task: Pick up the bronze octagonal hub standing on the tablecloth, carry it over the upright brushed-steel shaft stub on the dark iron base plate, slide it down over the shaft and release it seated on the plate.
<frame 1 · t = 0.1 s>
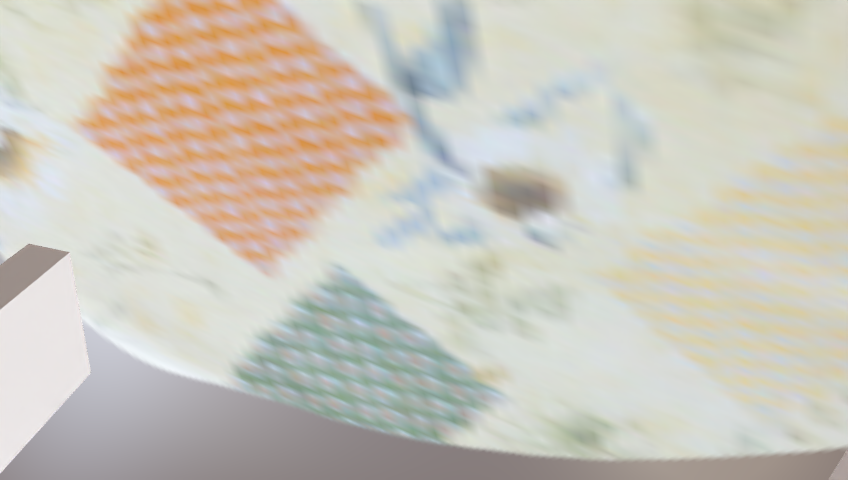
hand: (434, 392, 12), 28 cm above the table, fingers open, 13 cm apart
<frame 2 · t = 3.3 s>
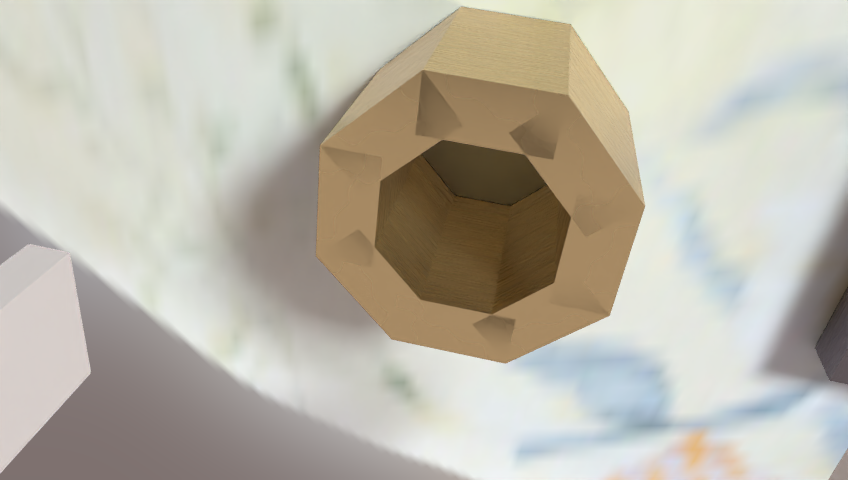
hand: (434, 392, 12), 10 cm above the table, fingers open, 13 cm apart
hub: (493, 137, 20), on the table
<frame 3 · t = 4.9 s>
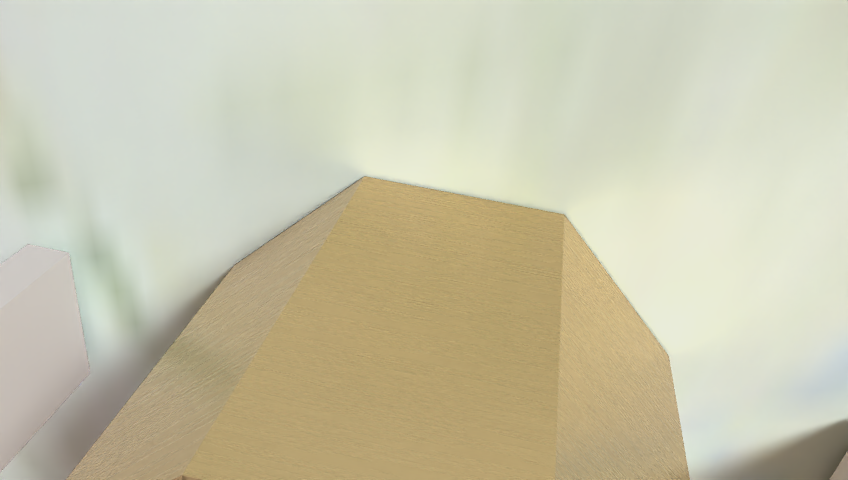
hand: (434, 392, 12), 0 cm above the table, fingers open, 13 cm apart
hub: (433, 377, 12), on the table
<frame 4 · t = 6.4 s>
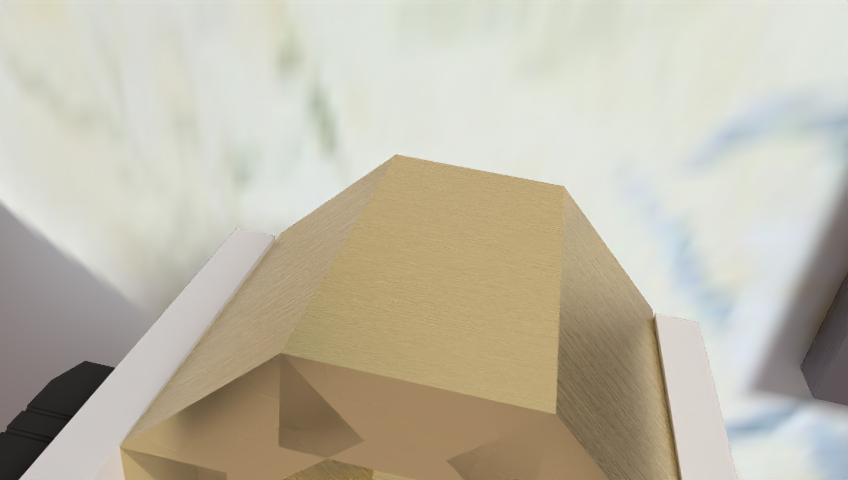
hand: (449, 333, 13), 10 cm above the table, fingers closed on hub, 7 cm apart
hub: (450, 332, 14), point 9 cm above the table, touching gripper
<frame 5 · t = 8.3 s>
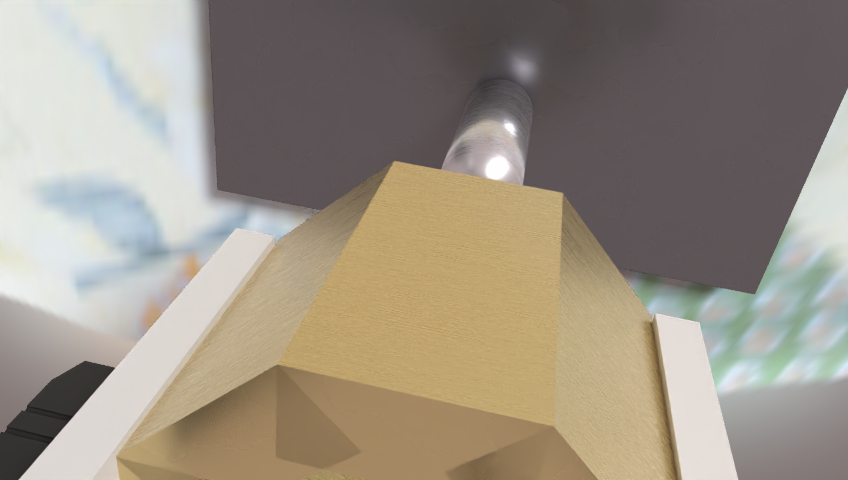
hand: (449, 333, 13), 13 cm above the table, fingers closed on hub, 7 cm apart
shaft stand: (503, 97, 24), on the table
hub: (449, 338, 14), point 13 cm above the table, touching gripper
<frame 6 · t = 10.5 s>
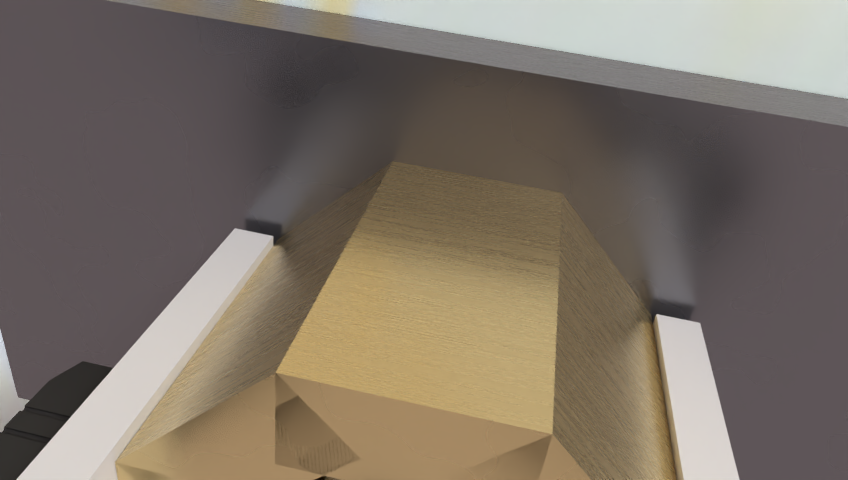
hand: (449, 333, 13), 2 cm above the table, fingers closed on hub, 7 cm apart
shaft stand: (458, 277, 15), on the table
hub: (449, 337, 14), point 2 cm above the table, touching gripper, shaft stand
when the fingers open (2 cm above the table, at t = 10.5 s): hub stays where it is, resting on shaft stand.
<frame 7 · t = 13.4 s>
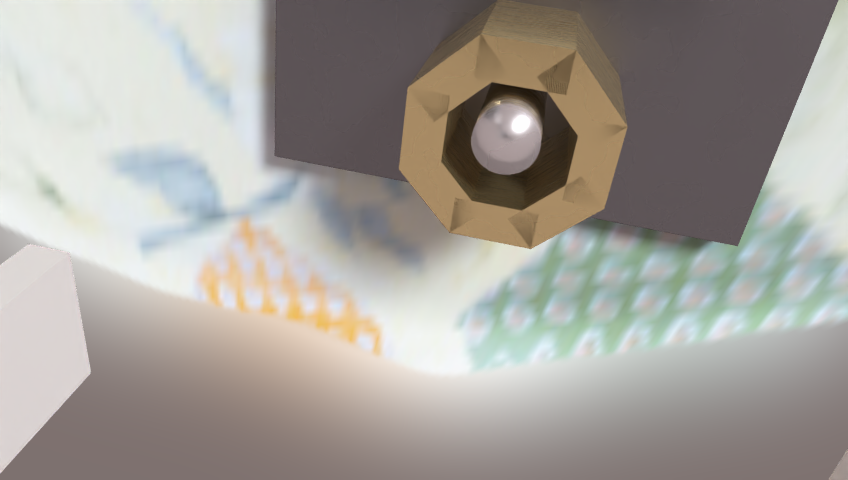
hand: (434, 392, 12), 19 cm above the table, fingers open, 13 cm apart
shaft stand: (522, 75, 28), on the table
hub: (520, 96, 27), point 1 cm above the table, touching shaft stand
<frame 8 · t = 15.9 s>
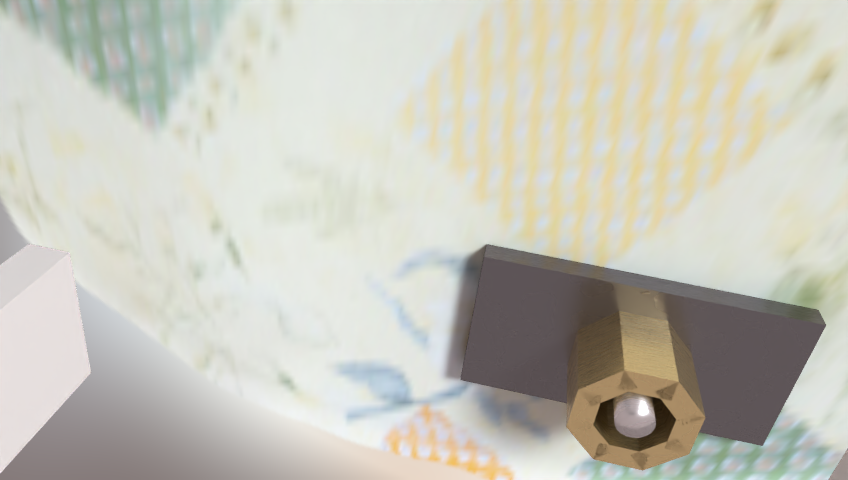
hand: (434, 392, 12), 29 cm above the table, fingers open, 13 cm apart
shaft stand: (626, 339, 45), on the table
hub: (628, 359, 44), point 1 cm above the table, touching shaft stand
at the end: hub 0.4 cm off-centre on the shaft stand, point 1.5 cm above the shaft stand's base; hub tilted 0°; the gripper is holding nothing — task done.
